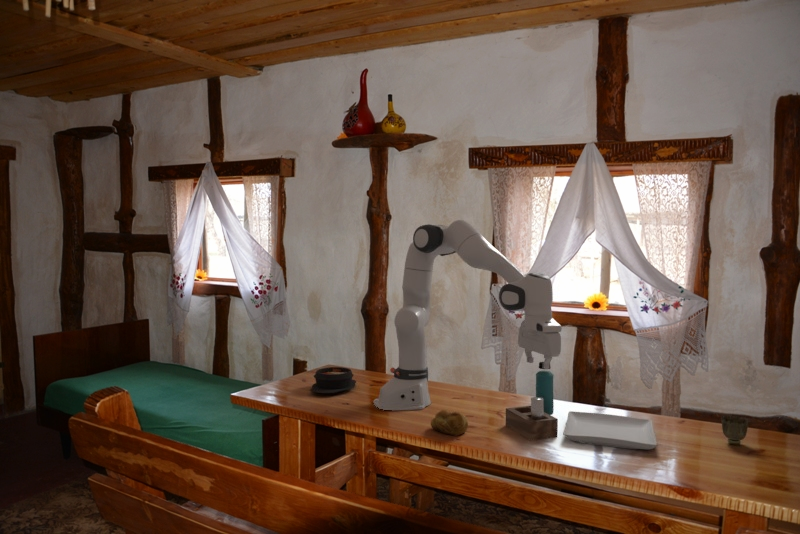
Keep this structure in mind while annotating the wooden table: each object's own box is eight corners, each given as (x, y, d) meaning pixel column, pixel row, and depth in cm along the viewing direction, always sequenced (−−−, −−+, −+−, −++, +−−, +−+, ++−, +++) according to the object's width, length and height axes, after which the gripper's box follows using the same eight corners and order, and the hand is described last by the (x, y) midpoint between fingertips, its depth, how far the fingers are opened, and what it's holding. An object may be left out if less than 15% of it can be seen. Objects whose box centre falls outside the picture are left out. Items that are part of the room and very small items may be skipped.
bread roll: (425, 431, 192) (425, 407, 191) (441, 424, 199) (441, 401, 199) (457, 439, 184) (457, 414, 183) (473, 431, 191) (473, 408, 191)
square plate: (657, 456, 170) (658, 443, 170) (562, 445, 179) (562, 433, 179) (652, 428, 195) (652, 417, 195) (568, 420, 205) (568, 409, 204)
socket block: (530, 440, 182) (530, 422, 182) (505, 425, 197) (505, 408, 197) (557, 437, 186) (557, 418, 185) (530, 422, 201) (531, 405, 200)
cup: (747, 449, 174) (748, 423, 174) (720, 445, 178) (720, 419, 178) (748, 442, 181) (748, 417, 180) (721, 438, 185) (721, 413, 184)
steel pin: (535, 431, 185) (535, 400, 185) (528, 427, 189) (528, 397, 189) (546, 429, 186) (545, 399, 186) (539, 426, 190) (539, 396, 190)
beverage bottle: (556, 416, 207) (557, 362, 206) (547, 421, 202) (548, 364, 202) (540, 413, 212) (541, 359, 211) (531, 417, 207) (532, 362, 206)
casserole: (329, 381, 260) (329, 363, 260) (366, 385, 253) (366, 366, 253) (299, 395, 237) (299, 374, 237) (339, 399, 230) (339, 379, 230)
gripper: (513, 319, 195) (513, 359, 196) (547, 328, 176) (546, 372, 176) (529, 318, 197) (529, 358, 198) (564, 327, 178) (564, 371, 178)
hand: (537, 365), depth 187 cm, fingers open, 8 cm apart
